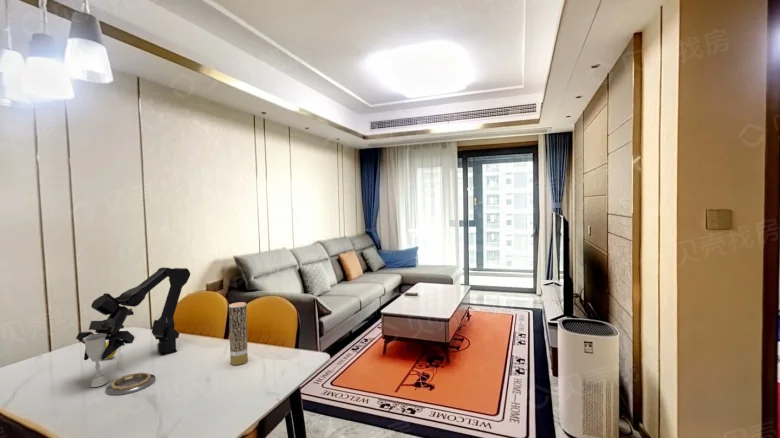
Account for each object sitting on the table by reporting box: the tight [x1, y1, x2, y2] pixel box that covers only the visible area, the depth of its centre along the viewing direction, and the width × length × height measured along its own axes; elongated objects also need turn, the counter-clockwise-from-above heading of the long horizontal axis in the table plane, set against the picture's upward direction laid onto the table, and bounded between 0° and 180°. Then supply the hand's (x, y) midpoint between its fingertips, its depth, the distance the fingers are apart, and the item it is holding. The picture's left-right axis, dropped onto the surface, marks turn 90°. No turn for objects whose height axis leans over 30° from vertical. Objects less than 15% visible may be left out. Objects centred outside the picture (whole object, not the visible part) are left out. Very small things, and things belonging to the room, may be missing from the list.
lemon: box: [106, 340, 118, 359], centre depth 156 cm, size 6×6×8 cm
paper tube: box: [228, 301, 249, 366], centre depth 150 cm, size 7×7×25 cm
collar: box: [105, 372, 157, 396], centre depth 131 cm, size 15×15×2 cm
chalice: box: [83, 333, 108, 388], centre depth 131 cm, size 7×7×18 cm
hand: (93, 359), depth 130 cm, fingers closed on chalice, 6 cm apart
